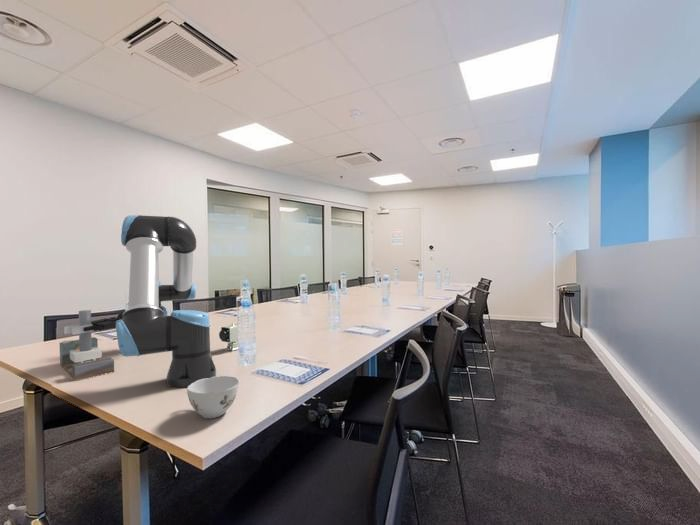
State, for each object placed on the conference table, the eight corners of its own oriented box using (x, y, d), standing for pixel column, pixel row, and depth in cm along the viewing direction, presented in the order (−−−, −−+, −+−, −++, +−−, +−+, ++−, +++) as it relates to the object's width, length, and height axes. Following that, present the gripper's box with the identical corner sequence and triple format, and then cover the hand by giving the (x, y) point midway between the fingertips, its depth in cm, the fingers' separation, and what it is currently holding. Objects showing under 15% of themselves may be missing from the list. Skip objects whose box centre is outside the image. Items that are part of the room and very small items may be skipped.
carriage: (101, 362, 124) (100, 310, 124) (74, 367, 118) (73, 313, 117) (96, 358, 129) (95, 308, 129) (70, 363, 123) (68, 311, 123)
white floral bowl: (249, 409, 87) (248, 379, 87) (207, 430, 76) (206, 396, 76) (214, 397, 95) (214, 370, 95) (172, 415, 85) (171, 384, 85)
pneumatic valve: (247, 347, 150) (246, 321, 150) (226, 354, 140) (225, 326, 140) (238, 346, 153) (238, 320, 152) (217, 352, 142) (217, 325, 142)
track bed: (114, 371, 119) (113, 346, 119) (75, 380, 110) (74, 353, 110) (94, 358, 136) (94, 336, 136) (60, 365, 128) (59, 341, 128)
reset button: (88, 354, 128) (88, 344, 128) (75, 356, 125) (75, 346, 125) (84, 351, 133) (84, 341, 133) (71, 353, 130) (71, 343, 130)
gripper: (145, 329, 137) (84, 342, 115) (118, 326, 143) (54, 339, 121) (145, 311, 137) (83, 321, 115) (117, 309, 143) (54, 319, 121)
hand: (68, 330), depth 118 cm, fingers closed on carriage, 4 cm apart
